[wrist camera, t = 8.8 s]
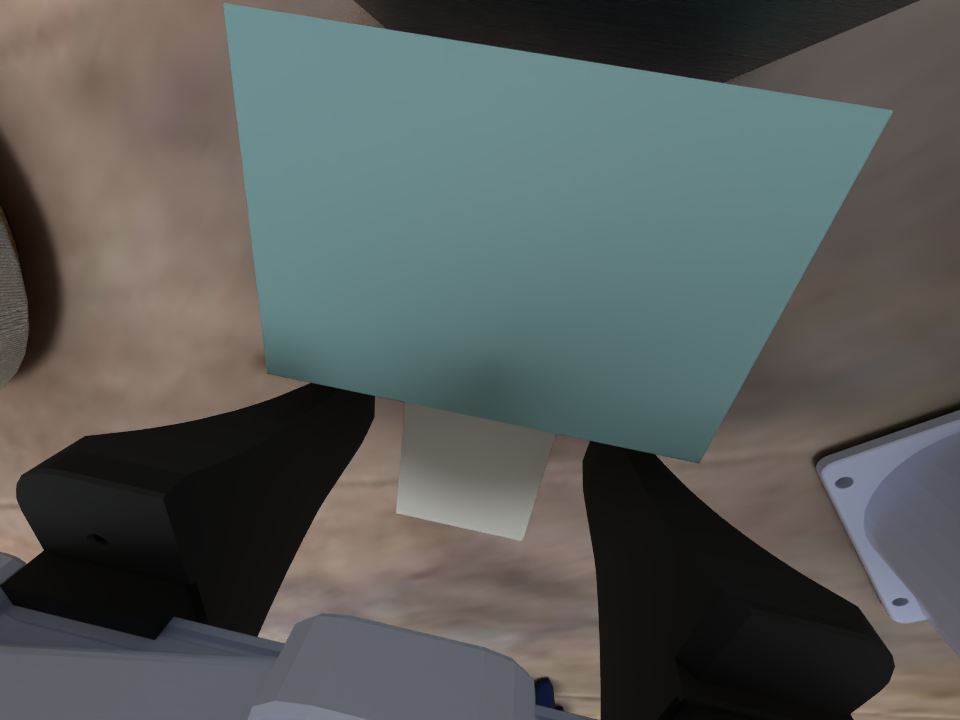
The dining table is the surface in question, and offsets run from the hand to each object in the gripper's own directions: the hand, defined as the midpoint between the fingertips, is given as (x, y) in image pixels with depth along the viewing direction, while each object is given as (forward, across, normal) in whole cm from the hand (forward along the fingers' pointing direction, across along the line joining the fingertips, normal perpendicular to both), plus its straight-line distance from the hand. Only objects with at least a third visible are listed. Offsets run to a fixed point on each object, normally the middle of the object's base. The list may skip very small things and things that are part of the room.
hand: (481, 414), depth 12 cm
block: (+2, 0, -6) cm, 6 cm away
